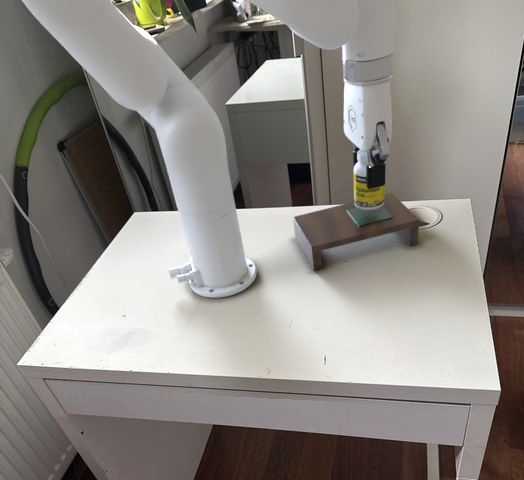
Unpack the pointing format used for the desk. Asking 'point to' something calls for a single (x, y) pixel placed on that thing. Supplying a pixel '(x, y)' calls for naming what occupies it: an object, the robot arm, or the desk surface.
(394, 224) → the shelf
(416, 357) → the desk surface
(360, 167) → the supplement bottle
